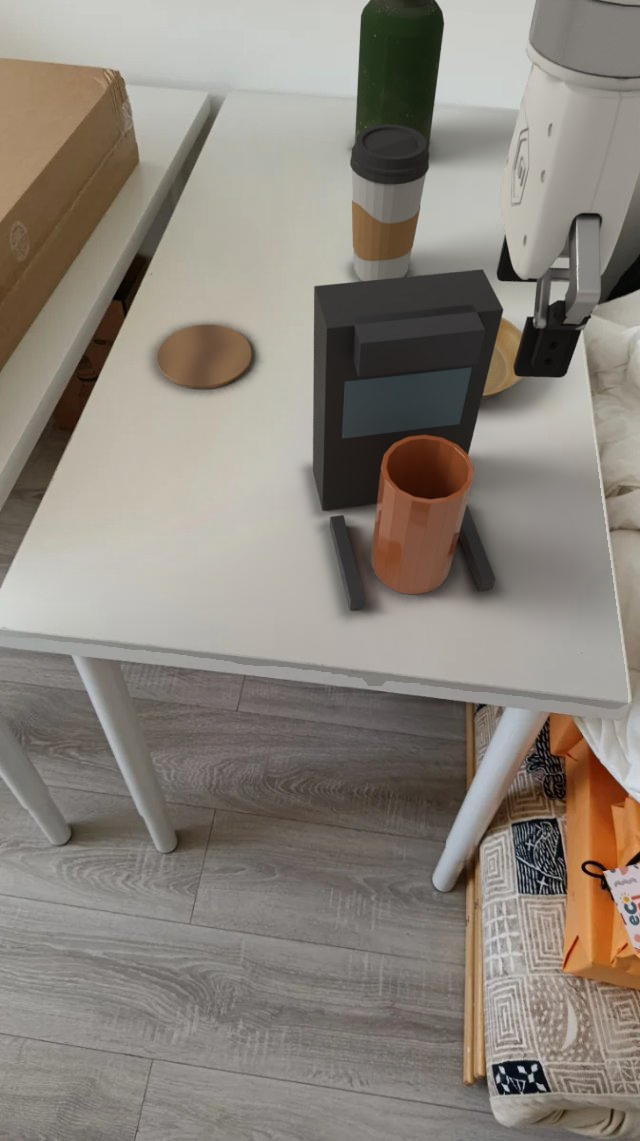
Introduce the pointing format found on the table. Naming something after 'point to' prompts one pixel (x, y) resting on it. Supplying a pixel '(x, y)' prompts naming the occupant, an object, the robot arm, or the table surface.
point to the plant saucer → (503, 360)
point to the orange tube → (419, 512)
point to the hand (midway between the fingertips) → (528, 324)
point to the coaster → (204, 356)
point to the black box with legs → (396, 387)
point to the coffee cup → (386, 198)
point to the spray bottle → (398, 64)
